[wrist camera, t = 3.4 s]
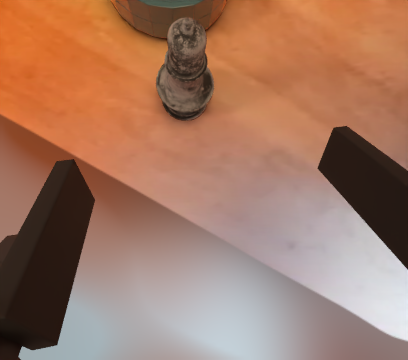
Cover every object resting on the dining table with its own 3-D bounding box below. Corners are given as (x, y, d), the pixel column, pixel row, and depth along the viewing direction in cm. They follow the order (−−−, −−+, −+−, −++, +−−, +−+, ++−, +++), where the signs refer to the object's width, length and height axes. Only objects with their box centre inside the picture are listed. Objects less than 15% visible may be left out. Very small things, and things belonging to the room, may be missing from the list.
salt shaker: (149, 92, 26) (121, 4, 14) (189, 64, 26) (196, -42, 15) (179, 133, 26) (178, 80, 14) (219, 104, 26) (250, 31, 15)
